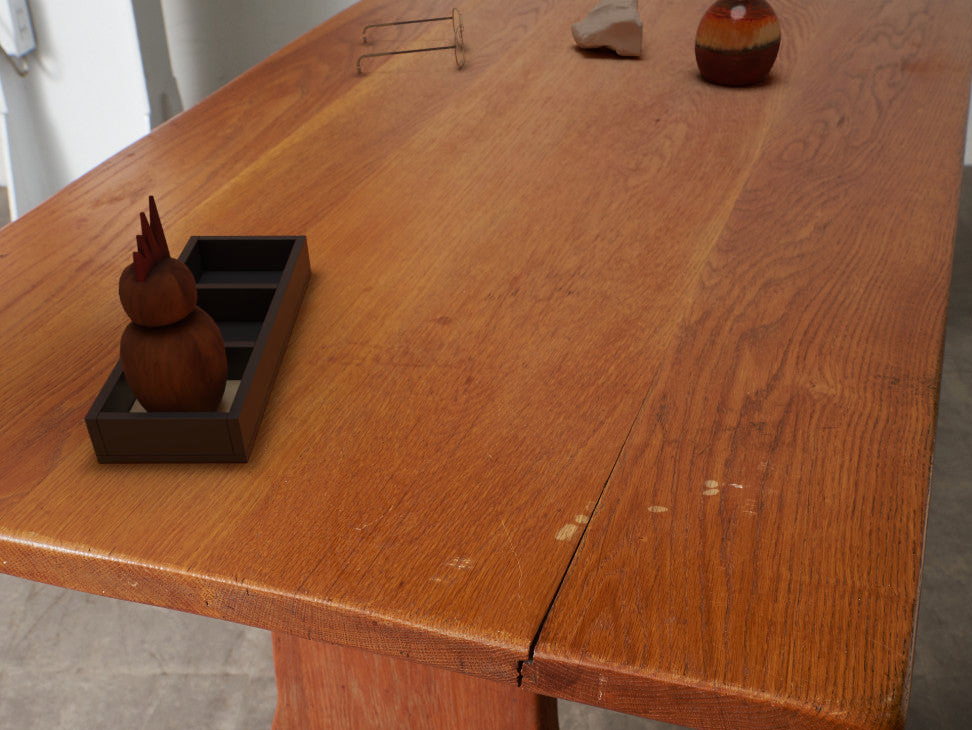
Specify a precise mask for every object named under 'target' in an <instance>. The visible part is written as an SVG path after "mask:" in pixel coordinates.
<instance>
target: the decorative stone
mask: <svg viewBox="0 0 972 730" xmlns="http://www.w3.org/2000/svg"><path fill="white" fill-rule="evenodd" d="M638 7H639V0H600V1H599V2H598V3H597V4H595V6H594V7H593V8H592V9H591V10H590V11H589V12H588V13H587V15H586V17H585V18H584V19H581V21H578V22H573V23H572V24H571V35H572V38H573V40H574V42H575V44H576V45H577V46H578V47H579V48H580V49H583V50H585V49H597V48H600V47H604V46H605V47H606V48H608V49H609V50H611V51H614V52H616V54H617V55H619V56H622V57H640V56H641V54H642V50H643V49H642V48H643V45H642V44H643V35H644V30H643V29H644V28H643V27H644V24H643V20H642V19H640V13H639V8H638Z"/></svg>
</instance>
